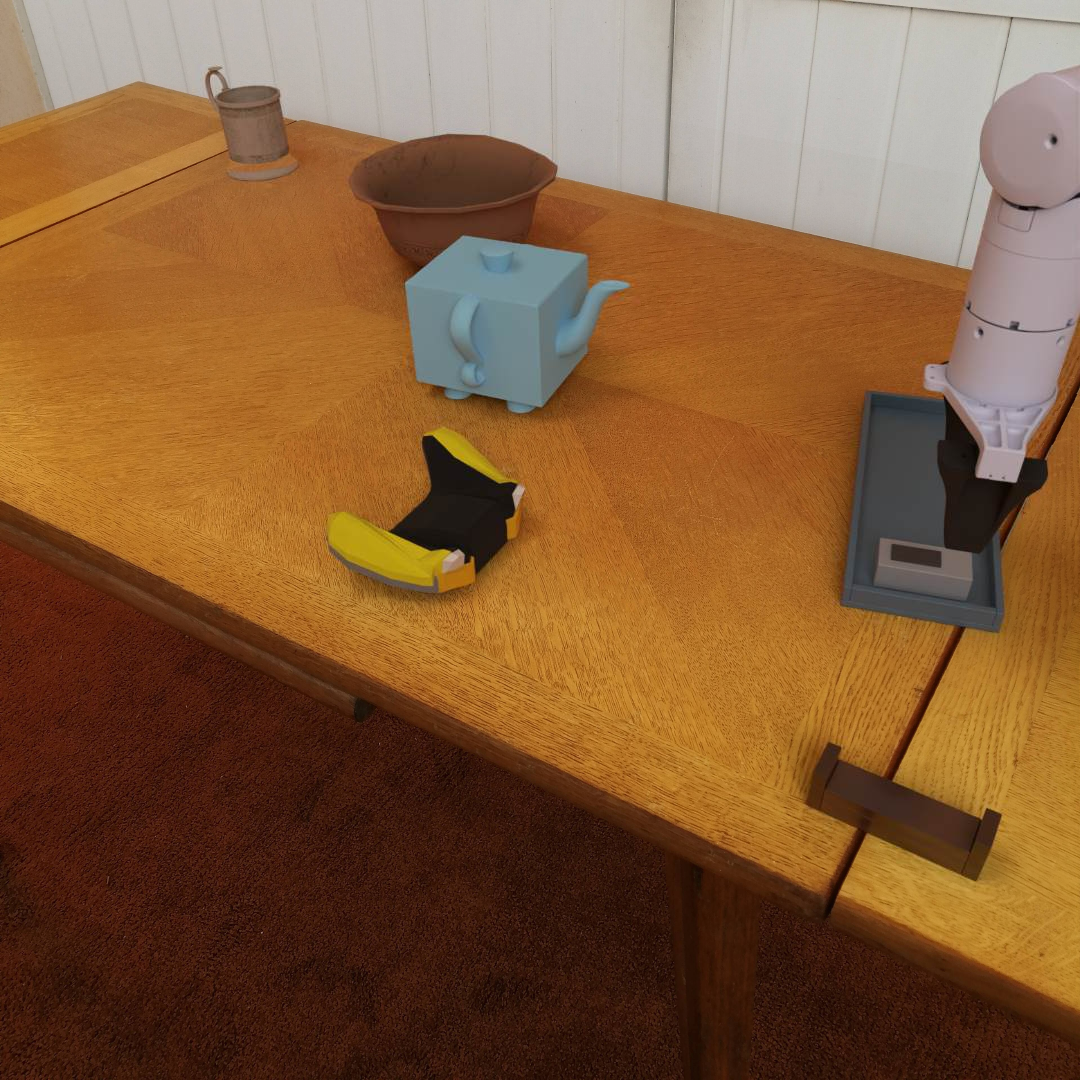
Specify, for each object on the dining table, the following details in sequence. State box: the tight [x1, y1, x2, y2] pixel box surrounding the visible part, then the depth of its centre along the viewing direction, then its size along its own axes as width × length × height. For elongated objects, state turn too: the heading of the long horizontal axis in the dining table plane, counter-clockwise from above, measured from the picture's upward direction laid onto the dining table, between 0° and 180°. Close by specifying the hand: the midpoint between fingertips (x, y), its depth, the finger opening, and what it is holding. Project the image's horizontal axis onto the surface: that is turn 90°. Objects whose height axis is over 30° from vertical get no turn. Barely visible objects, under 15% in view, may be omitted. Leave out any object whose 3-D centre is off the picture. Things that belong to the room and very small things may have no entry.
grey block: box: [873, 538, 973, 602], centre depth 68 cm, size 6×3×2 cm, turn 73°
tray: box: [840, 389, 1006, 634], centre depth 75 cm, size 10×26×2 cm, turn 163°
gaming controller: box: [326, 426, 526, 595], centre depth 72 cm, size 15×6×10 cm
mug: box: [204, 66, 300, 182], centre depth 136 cm, size 14×10×12 cm
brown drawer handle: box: [805, 741, 1003, 882], centre depth 53 cm, size 9×2×3 cm, turn 58°
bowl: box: [347, 133, 559, 270], centre depth 108 cm, size 22×22×11 cm
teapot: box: [404, 236, 631, 414], centre depth 87 cm, size 18×16×13 cm
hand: (961, 509), depth 62 cm, fingers open, 7 cm apart
